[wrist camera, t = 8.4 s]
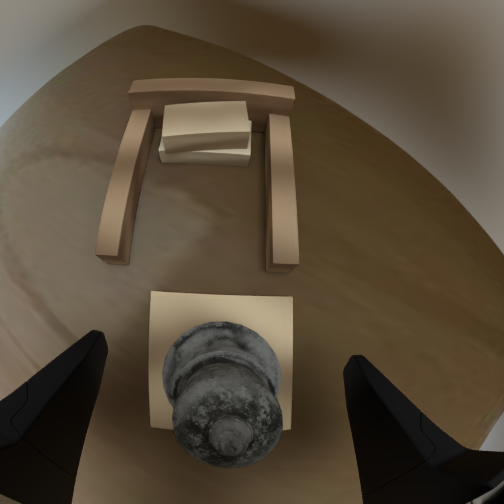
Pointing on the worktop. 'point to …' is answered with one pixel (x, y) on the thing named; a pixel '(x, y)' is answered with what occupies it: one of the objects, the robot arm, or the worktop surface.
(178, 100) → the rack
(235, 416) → the grey chess piece
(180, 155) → the offcut lower
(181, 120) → the offcut upper
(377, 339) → the worktop surface
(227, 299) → the cork mat
